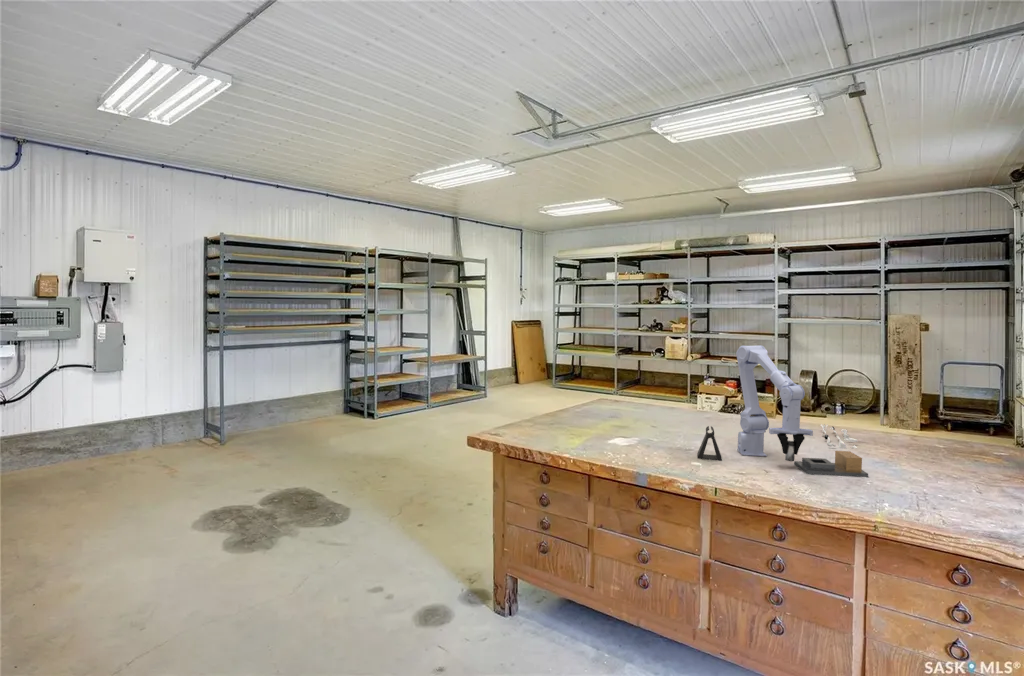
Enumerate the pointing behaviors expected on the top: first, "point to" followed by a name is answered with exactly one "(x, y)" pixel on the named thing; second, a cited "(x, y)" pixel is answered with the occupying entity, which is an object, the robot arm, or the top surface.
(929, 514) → the top surface
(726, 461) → the top surface
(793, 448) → the shiny metal cylinder
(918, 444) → the top surface
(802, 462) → the square socket plate
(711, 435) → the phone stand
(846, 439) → the miniature set
